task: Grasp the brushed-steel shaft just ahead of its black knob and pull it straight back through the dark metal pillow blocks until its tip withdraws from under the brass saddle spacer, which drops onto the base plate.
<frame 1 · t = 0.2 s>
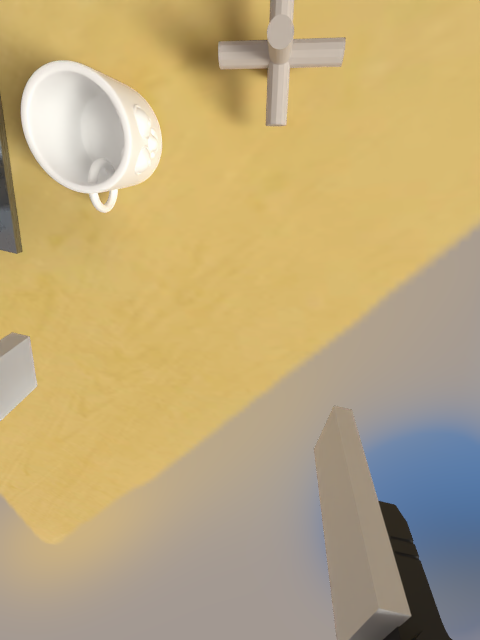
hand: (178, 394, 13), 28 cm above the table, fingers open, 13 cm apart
pipe connector: (279, 69, 30), on the table
mug: (127, 150, 35), on the table
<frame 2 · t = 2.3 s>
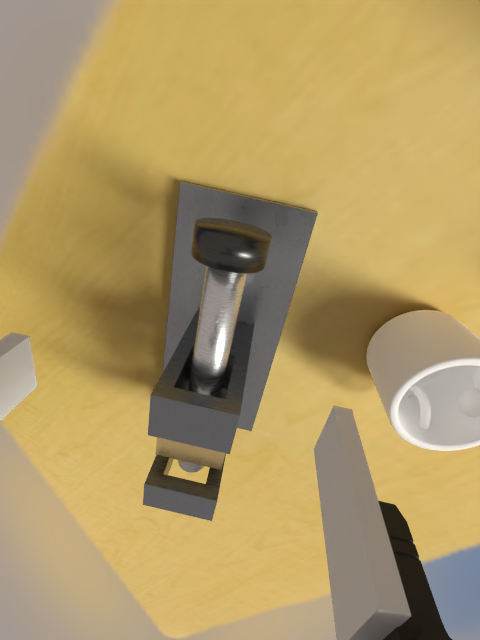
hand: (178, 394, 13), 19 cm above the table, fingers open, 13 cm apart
mug: (410, 355, 33), on the table
shaft: (208, 369, 25), point 9 cm above the table, slide at 0.0 cm, touching spacer
spacer: (205, 400, 31), point 6 cm above the table, touching shaft
bearing block: (223, 330, 34), on the table
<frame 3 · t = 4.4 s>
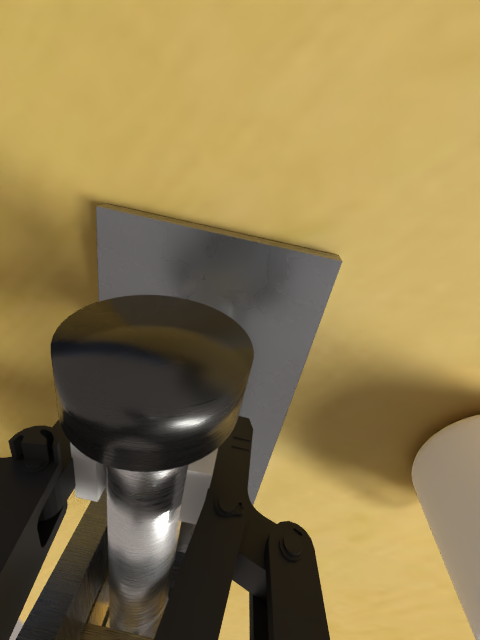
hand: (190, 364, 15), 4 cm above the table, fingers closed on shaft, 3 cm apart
mug: (477, 465, 21), on the table
shaft: (142, 554, 14), point 9 cm above the table, slide at 0.0 cm, touching gripper, spacer
spacer: (155, 555, 19), point 6 cm above the table, touching shaft
bearing block: (190, 423, 22), on the table
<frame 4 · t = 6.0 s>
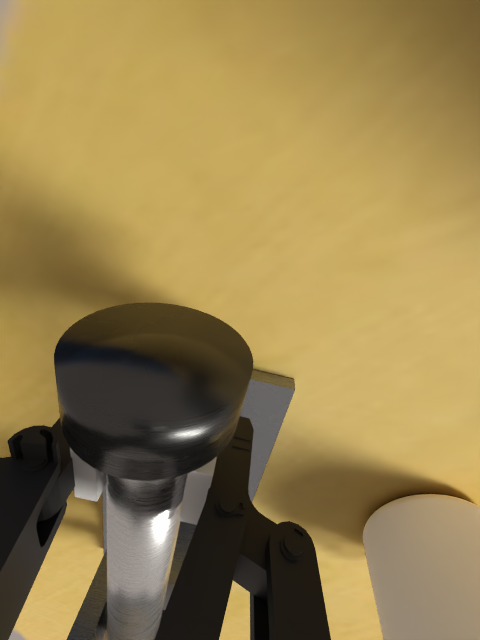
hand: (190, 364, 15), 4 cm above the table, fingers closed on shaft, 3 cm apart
mug: (419, 528, 25), on the table
shaft: (141, 557, 14), point 9 cm above the table, slide at 7.8 cm, touching gripper, spacer
bearing block: (177, 489, 26), on the table
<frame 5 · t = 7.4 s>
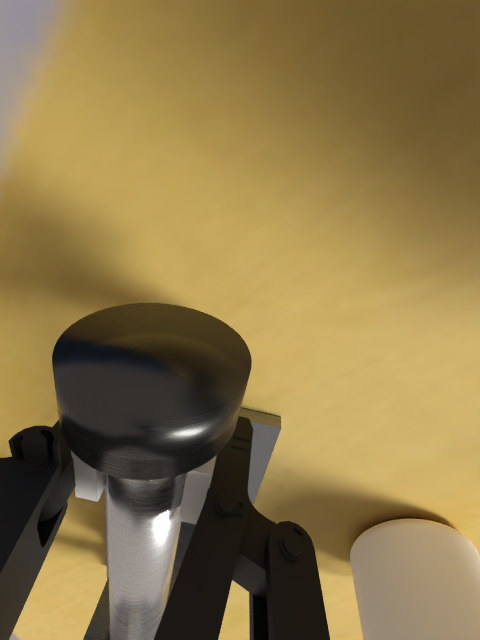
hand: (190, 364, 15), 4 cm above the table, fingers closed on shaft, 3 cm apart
mug: (404, 548, 27), on the table
shaft: (142, 557, 14), point 9 cm above the table, slide at 11.1 cm, touching gripper
bearing block: (175, 513, 28), on the table
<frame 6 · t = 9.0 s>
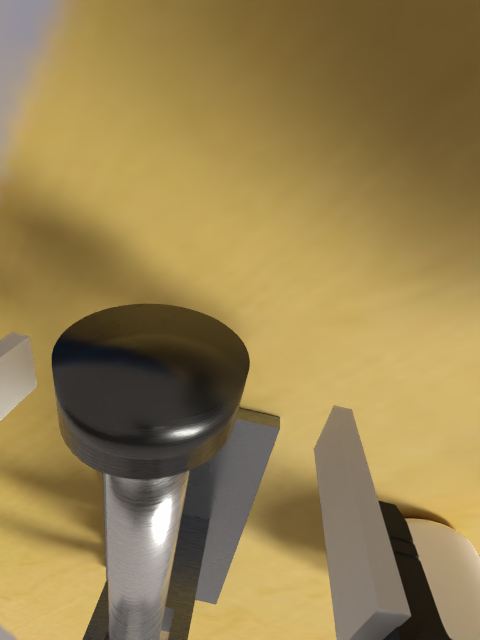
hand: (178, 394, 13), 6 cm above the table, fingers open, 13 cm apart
mug: (403, 548, 27), on the table
shaft: (141, 557, 14), point 9 cm above the table, slide at 11.2 cm
bearing block: (175, 513, 28), on the table
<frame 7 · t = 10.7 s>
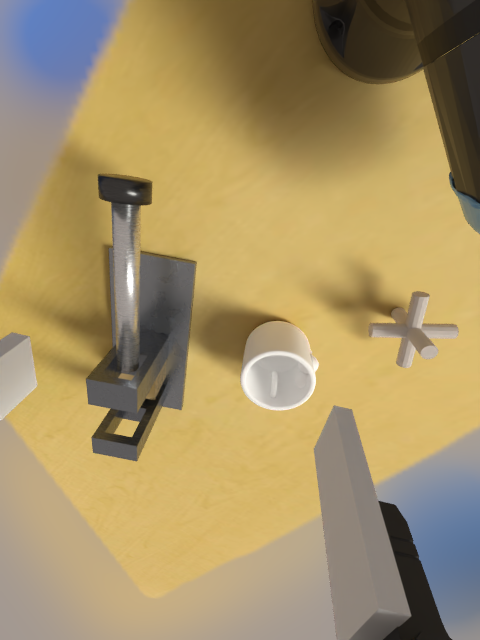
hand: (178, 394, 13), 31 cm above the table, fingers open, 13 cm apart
pipe connector: (397, 312, 44), on the table
mug: (278, 351, 49), on the table
shaft: (127, 286, 36), point 9 cm above the table, slide at 11.2 cm
spacer: (148, 364, 51), point 1 cm above the table, touching bearing block
bearing block: (151, 338, 50), on the table
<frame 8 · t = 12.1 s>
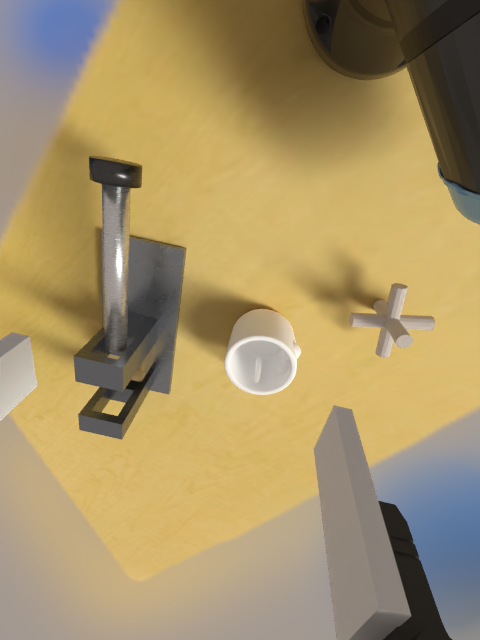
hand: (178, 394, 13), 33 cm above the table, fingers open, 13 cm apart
pipe connector: (379, 304, 45), on the table
mug: (263, 339, 50), on the table
shaft: (116, 267, 37), point 9 cm above the table, slide at 11.2 cm
spacer: (137, 348, 52), point 1 cm above the table, touching bearing block
bearing block: (141, 323, 51), on the table
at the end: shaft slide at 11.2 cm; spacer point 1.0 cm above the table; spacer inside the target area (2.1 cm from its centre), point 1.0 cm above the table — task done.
